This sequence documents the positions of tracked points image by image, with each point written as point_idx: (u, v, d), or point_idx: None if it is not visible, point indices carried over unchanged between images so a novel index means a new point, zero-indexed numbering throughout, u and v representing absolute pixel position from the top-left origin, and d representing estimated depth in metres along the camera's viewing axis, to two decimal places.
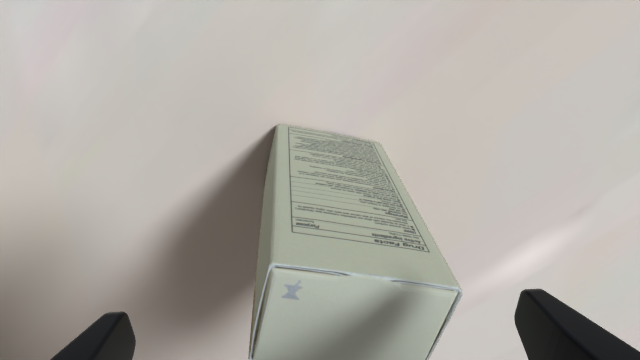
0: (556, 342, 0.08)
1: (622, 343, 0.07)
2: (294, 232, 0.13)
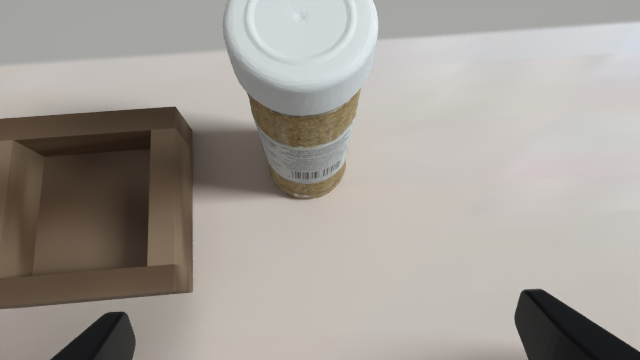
0: (556, 342, 0.08)
1: (623, 344, 0.07)
2: None
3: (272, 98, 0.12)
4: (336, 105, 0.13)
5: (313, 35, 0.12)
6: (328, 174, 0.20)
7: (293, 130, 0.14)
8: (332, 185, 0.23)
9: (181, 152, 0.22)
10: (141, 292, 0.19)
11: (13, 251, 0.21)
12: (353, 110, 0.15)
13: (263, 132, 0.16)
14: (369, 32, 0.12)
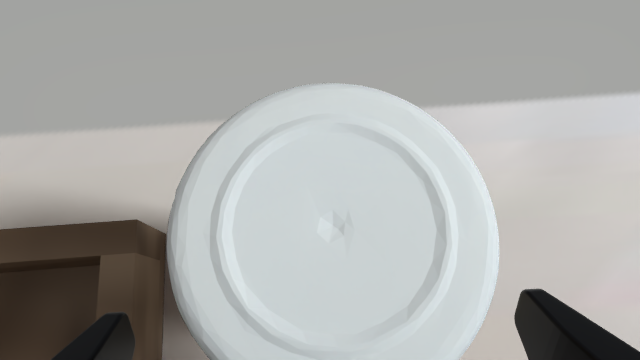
0: (556, 342, 0.08)
1: (623, 343, 0.07)
2: None
3: None
4: None
5: (363, 277, 0.05)
6: None
7: None
8: None
9: (145, 281, 0.16)
10: None
11: None
12: None
13: None
14: (487, 268, 0.05)
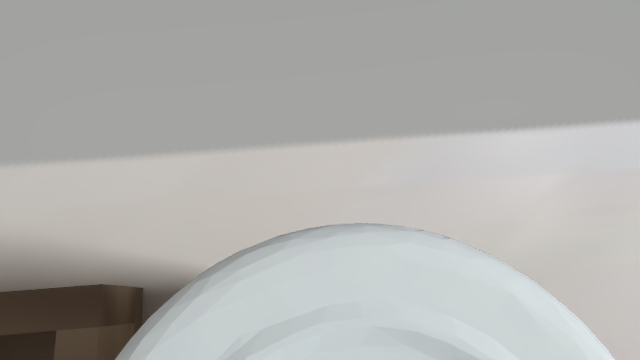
0: None
1: None
2: None
3: None
4: None
5: None
6: None
7: None
8: None
9: (113, 356, 0.13)
10: None
11: None
12: None
13: None
14: None
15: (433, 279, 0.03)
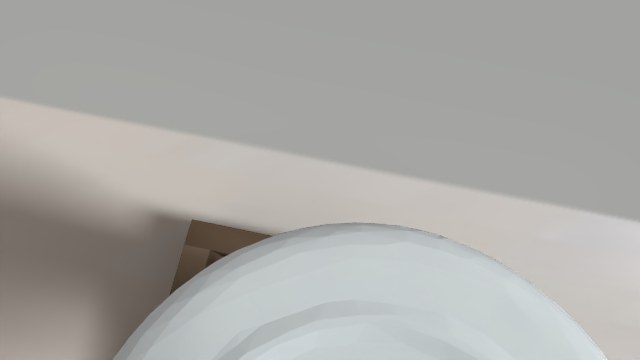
0: None
1: None
2: None
3: None
4: None
5: None
6: None
7: None
8: None
9: None
10: None
11: None
12: None
13: None
14: None
15: (428, 277, 0.03)
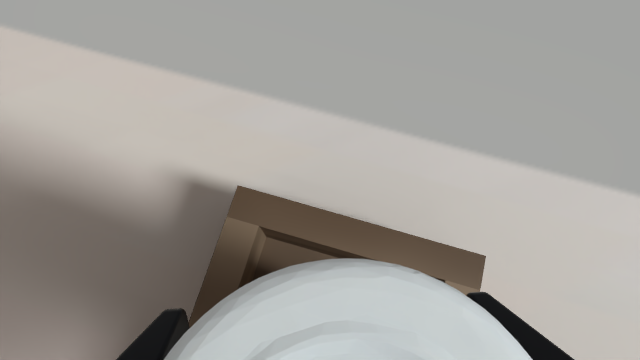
0: None
1: (554, 347, 0.07)
2: None
3: None
4: None
5: None
6: None
7: None
8: None
9: None
10: None
11: None
12: None
13: None
14: None
15: (404, 305, 0.04)
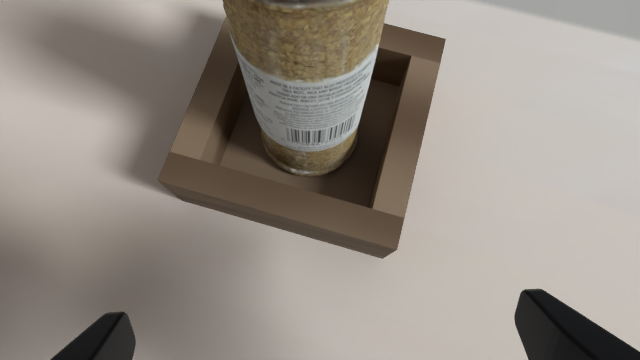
0: (556, 342, 0.08)
1: (623, 344, 0.07)
2: None
3: None
4: None
5: None
6: (336, 138, 0.15)
7: (287, 44, 0.09)
8: (340, 159, 0.18)
9: None
10: (358, 236, 0.15)
11: (217, 137, 0.18)
12: (379, 23, 0.10)
13: (244, 59, 0.11)
14: None
15: None
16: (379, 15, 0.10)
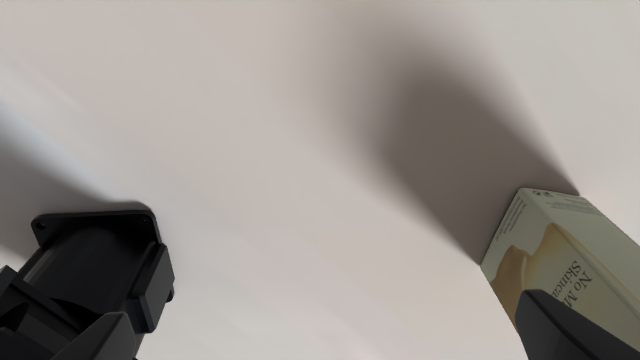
0: (556, 342, 0.08)
1: (622, 343, 0.07)
2: None
3: None
4: None
5: None
6: None
7: None
8: None
9: None
10: None
11: None
12: None
13: None
14: None
15: None
16: None
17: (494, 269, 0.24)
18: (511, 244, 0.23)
